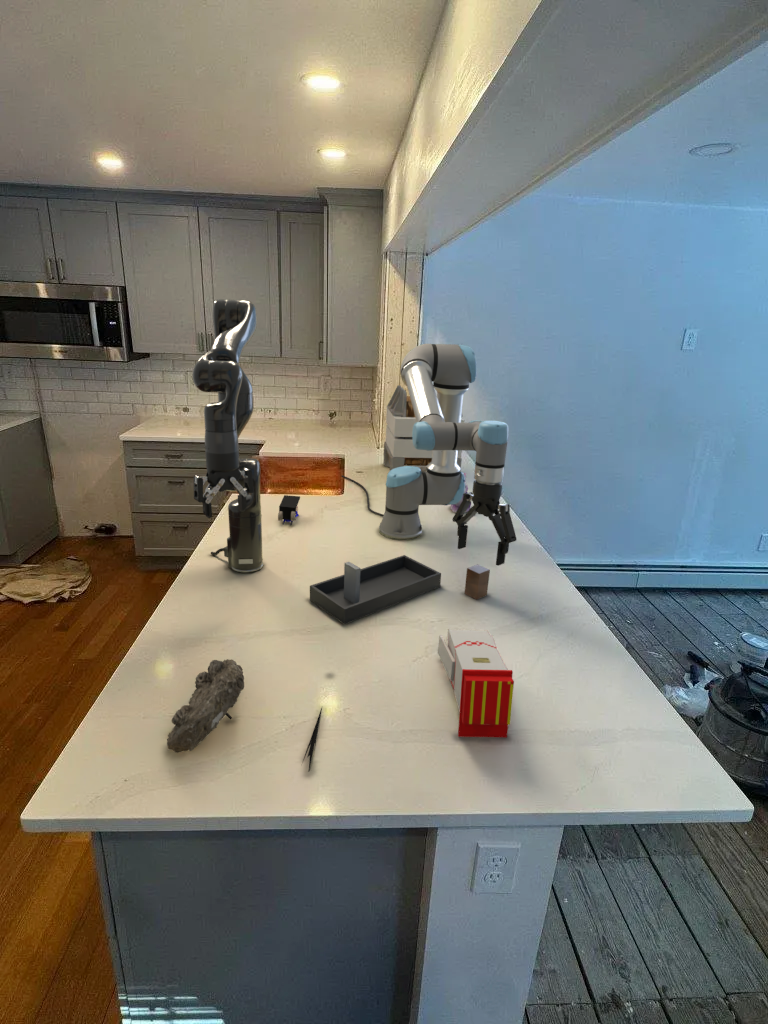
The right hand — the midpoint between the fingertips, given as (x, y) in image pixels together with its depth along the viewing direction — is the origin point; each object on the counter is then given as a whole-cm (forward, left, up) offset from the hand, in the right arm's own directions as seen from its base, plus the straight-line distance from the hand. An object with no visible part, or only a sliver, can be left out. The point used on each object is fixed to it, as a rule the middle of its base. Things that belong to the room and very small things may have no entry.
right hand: (480, 555), depth 155 cm
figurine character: (-79, -12, -12) cm, 81 cm away
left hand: (-33, -58, +14) cm, 68 cm away
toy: (+28, -34, -12) cm, 45 cm away
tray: (-17, -22, -12) cm, 30 cm away
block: (0, 0, -12) cm, 12 cm away
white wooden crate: (-99, +74, -12) cm, 124 cm away
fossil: (+2, -79, -12) cm, 80 cm away
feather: (+15, -64, -12) cm, 67 cm away
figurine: (-51, +50, -12) cm, 73 cm away
